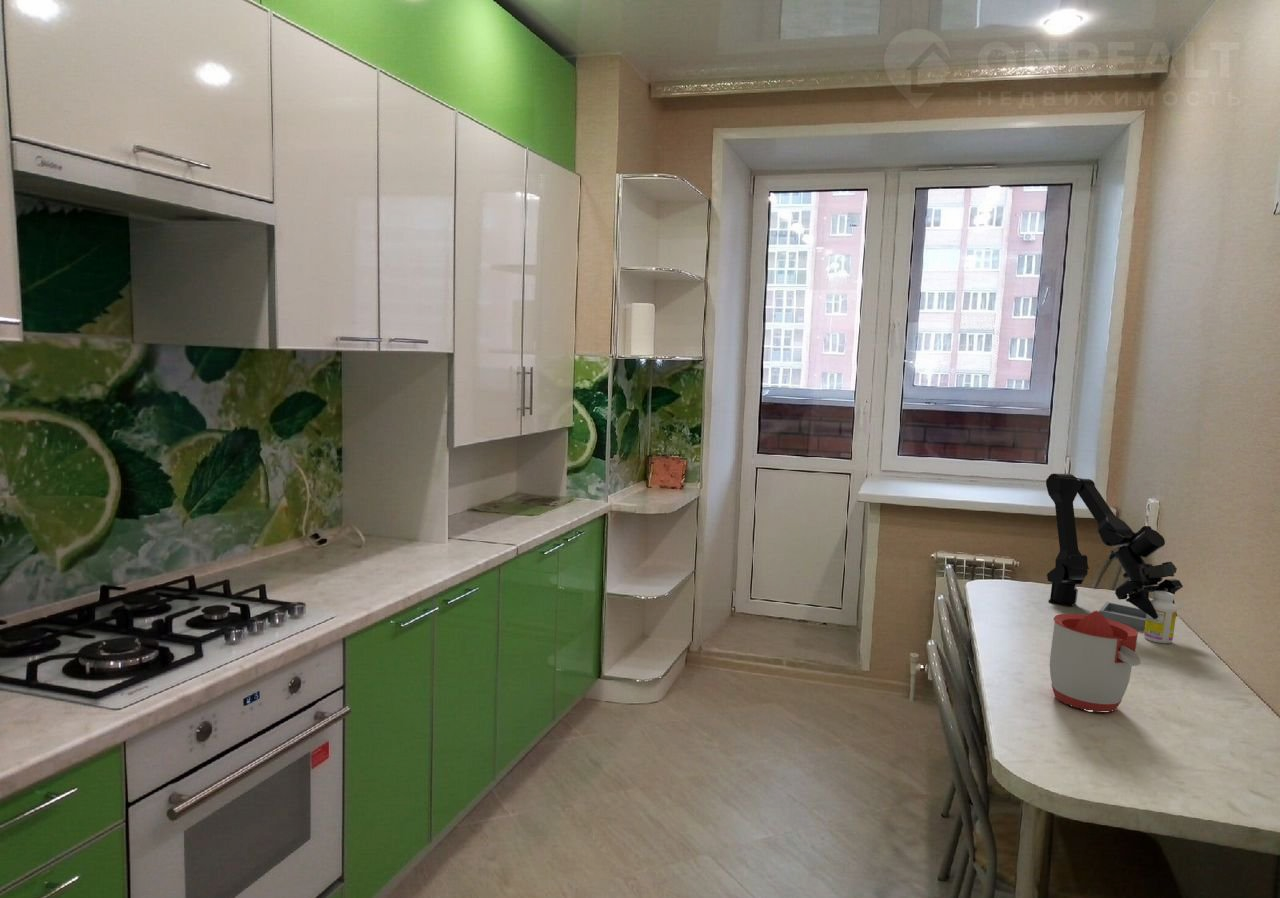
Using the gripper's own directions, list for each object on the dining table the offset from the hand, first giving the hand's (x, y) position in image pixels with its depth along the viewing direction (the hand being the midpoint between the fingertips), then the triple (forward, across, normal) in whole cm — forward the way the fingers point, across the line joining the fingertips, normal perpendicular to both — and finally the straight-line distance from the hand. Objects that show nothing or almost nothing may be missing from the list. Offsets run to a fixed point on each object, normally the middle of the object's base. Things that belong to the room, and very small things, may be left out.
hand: (1165, 617), depth 226 cm
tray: (-7, +6, +16) cm, 18 cm away
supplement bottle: (+4, 0, +6) cm, 7 cm away
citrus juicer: (+25, -58, -16) cm, 65 cm away
